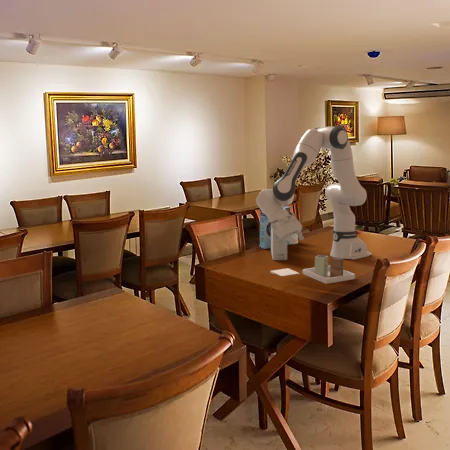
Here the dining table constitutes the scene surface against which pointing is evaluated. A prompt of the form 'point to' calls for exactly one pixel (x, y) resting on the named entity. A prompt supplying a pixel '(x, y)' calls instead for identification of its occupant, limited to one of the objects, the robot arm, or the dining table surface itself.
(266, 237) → the light blue carton
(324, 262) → the sage box
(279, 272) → the pad
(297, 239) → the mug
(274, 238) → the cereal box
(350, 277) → the white tray
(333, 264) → the walnut box
